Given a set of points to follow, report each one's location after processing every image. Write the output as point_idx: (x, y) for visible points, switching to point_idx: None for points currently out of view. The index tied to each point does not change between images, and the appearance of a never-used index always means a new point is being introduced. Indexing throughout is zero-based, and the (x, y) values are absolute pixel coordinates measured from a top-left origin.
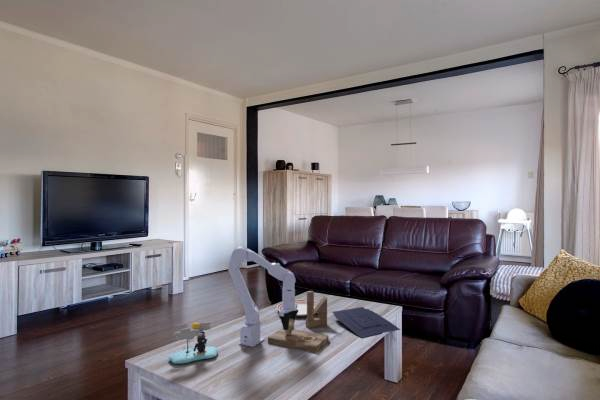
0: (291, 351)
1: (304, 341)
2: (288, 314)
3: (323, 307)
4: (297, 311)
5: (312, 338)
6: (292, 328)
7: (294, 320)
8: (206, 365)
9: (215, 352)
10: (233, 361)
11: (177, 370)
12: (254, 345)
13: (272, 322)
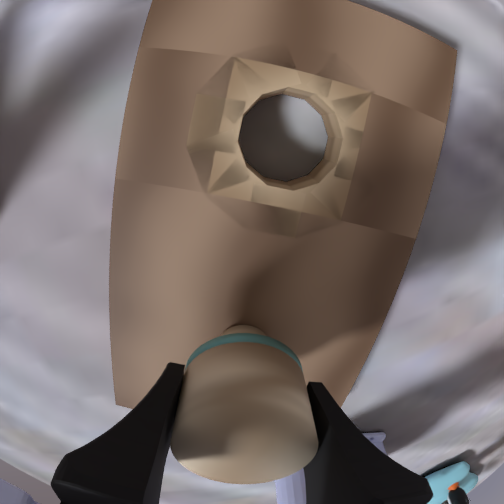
0: (442, 238)
1: (383, 161)
2: (159, 497)
3: None
4: (109, 483)
5: (259, 98)
6: (277, 352)
7: (161, 397)
8: (491, 443)
9: (454, 472)
10: (491, 412)
11: (493, 462)
12: (377, 434)
13: (39, 428)
